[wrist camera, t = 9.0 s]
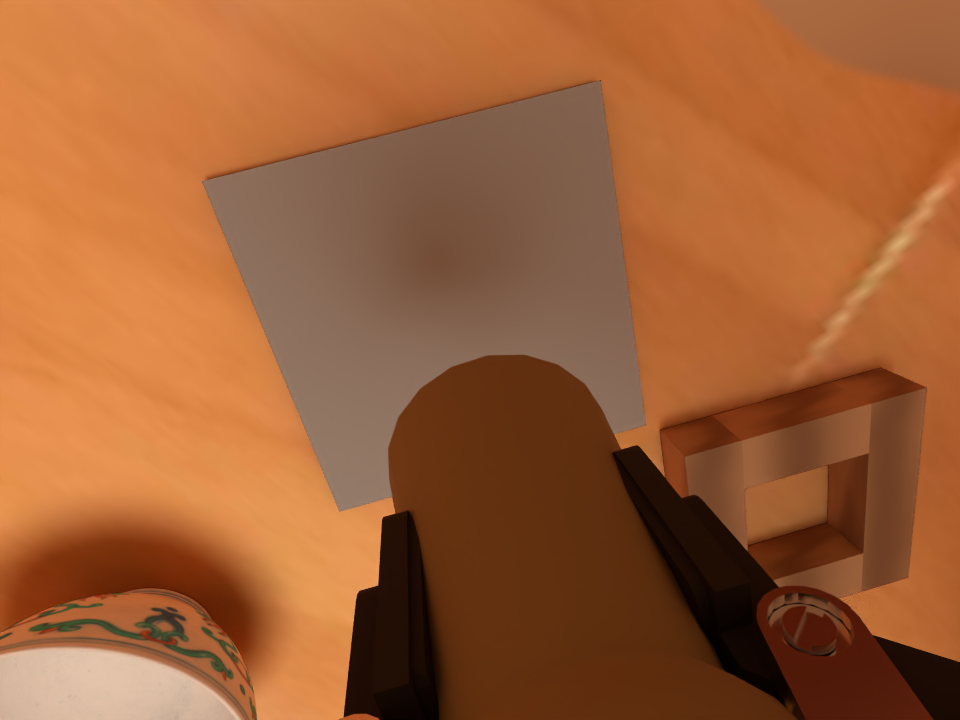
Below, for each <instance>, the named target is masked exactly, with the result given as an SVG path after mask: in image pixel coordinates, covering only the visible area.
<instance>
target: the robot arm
mask: <svg viewBox="0 0 960 720" xmlns="http://www.w3.org/2000/svg"><path fill="white" fill-rule="evenodd" d="M613 455H614V457H616V459H615V462H616V465H617V467H618V470H619V473H620V475H621V478H622V481H623V483H624V486H625V489H626V490H627V492H628V494H629V496H630V498H631V499H632V501H633V503H634V505H635V507H636V508H637V510H638V512H639V514H640V515H641V517H642V519H643V521H644V523H645V524H646V526H647V528H648V530H649V532H650V533H651V535H652V537H653V539H654V540H655V542H656V544H657V546H658V548H659V549H660V551H661V553H662V555H663V557H664V558H665V560H666V562H667V564H668V565H669V567H670V569H671V571H672V573H673V575H674V576H675V578H676V580H677V582H678V584H679V586H680V588H681V590H682V592H683V594H684V596H685V598H686V600H687V602H688V604H689V606H690V608H691V610H692V612H693V614H694V616H695V618H696V620H697V622H698V624H699V626H700V628H701V629H702V631H703V632H704V633H705V635H706V636H707V638H708V639H709V640H710V642H711V643H712V644H713V646H714V649H715V651H716V653H717V655H718V657H719V659H720V661H721V663H722V666H723V668H724V670H725V672H727V673H730V674H732V675H734V676H736V677H738V678H740V679H741V680H743V681H745V682H747V683H749V684H750V685H752V686H754V687H756V688H758V689H760V690H761V691H763V692H765V693H767V694H769V695H771V696H772V697H774V698H776V699H777V700H778V701H779V702H780V703H781V704H782V705H783V706H785V707H786V708H787V709H788V710H789V711H790V712H791V713H792V714H793V715H794V716H795V717H796V718H797V719H798V720H960V662H957V661H954V660H951V659H948V658H944V657H941V656H938V655H935V654H932V653H928V652H925V651H922V650H919V649H916V648H913V647H909V646H906V645H903V644H900V643H897V642H893V641H890V640H887V639H884V638H881V637H877V636H874V635H872V634H871V632H870V631H869V630H868V628H867V627H866V625H865V624H864V623H863V621H862V620H861V618H860V617H859V616H858V615H857V614H856V613H855V612H854V611H853V610H852V609H851V607H850V606H849V605H847V604H846V603H844V602H843V601H841V600H840V599H838V598H837V597H835V596H834V595H832V594H829V593H827V592H824V591H822V590H819V589H816V588H811V587H806V586H783V587H780V588H779V586H778V585H777V584H776V583H775V582H774V581H773V580H772V578H771V577H770V576H769V575H768V574H767V573H766V572H765V571H764V569H763V568H762V567H761V566H760V565H759V564H758V563H757V561H756V560H755V559H754V558H753V557H752V556H751V555H750V553H749V552H748V551H747V550H746V549H745V548H744V547H743V545H742V544H741V543H740V542H739V541H738V540H737V539H736V537H735V536H734V535H733V534H732V533H731V532H730V531H729V529H728V528H727V527H726V526H725V525H724V524H723V523H722V521H721V520H720V519H719V518H718V517H717V516H716V515H715V514H714V512H713V511H712V510H711V509H710V508H709V507H708V506H707V504H706V503H705V502H704V501H703V500H702V499H701V498H700V497H699V496H697V495H690V496H687V497H683V498H681V497H680V495H679V494H678V493H677V492H676V491H675V489H674V488H673V487H672V486H671V484H670V483H669V482H668V481H667V480H666V478H665V477H664V476H663V475H662V473H661V472H660V471H659V470H658V469H657V467H656V466H655V465H654V464H653V463H652V461H651V460H650V459H649V458H648V456H647V455H646V454H645V453H644V452H643V450H642V449H641V448H640V447H639V446H637V445H636V446H632V447H629V448H625V449H622V450H618V451H615V452H613ZM409 516H410V513H409V511H408V510H407V511H403V512H400V513H396V514H393V515H389V516H385V517H383V519H382V532H381V549H380V566H379V583H378V586H375V587H372V588H368V589H365V590H361V591H359V593H358V594H357V599H356V606H355V615H354V624H353V634H352V643H351V653H350V662H349V671H348V681H347V690H346V699H345V709H344V718H341V719H339V720H439V708H438V701H437V694H436V687H435V678H434V669H433V659H432V650H431V641H430V632H429V623H428V614H427V604H426V595H425V586H424V577H423V568H422V558H421V549H420V541H419V537H418V534H417V530H416V526H415V523H414V519H413V517H409Z"/></svg>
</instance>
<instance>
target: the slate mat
mask: <svg viewBox="0 0 960 720" xmlns="http://www.w3.org/2000/svg"><path fill="white" fill-rule="evenodd" d="M202 183H203V185H204V188H205V190H206V192H207V195H208V197H209V200H210V202H211V204H212V207H213V209H214V212H215V214H216V216H217V219H218V221H219V224H220V226H221V228H222V231H223V233H224V236H225V238H226V240H227V243H228V245H229V248H230V250H231V252H232V255H233V257H234V260H235V262H236V264H237V267H238V269H239V272H240V274H241V276H242V279H243V281H244V284H245V286H246V288H247V291H248V293H249V296H250V298H251V300H252V303H253V305H254V308H255V310H256V312H257V315H258V317H259V320H260V322H261V324H262V327H263V329H264V332H265V334H266V336H267V339H268V341H269V344H270V346H271V348H272V351H273V353H274V356H275V358H276V360H277V363H278V365H279V368H280V370H281V372H282V375H283V377H284V380H285V382H286V384H287V387H288V389H289V392H290V394H291V396H292V399H293V401H294V404H295V406H296V408H297V411H298V413H299V416H300V418H301V420H302V423H303V425H304V428H305V430H306V432H307V435H308V437H309V440H310V442H311V444H312V447H313V449H314V452H315V454H316V456H317V459H318V461H319V464H320V466H321V468H322V471H323V473H324V476H325V478H326V480H327V483H328V485H329V488H330V490H331V492H332V495H333V497H334V500H335V502H336V504H337V507H338V509H339V512H340V511H344V510H347V509H351V508H354V507H358V506H361V505H365V504H369V503H372V502H376V501H379V500H383V499H386V498H390V497H392V492H391V487H390V482H389V465H388V447H389V444H390V441H391V438H392V435H393V432H394V429H395V426H396V423H397V420H398V417H399V415H400V414H401V413H402V411H403V410H404V409H405V408H406V406H407V405H408V404H409V402H410V401H411V400H412V398H413V397H414V396H415V395H416V393H417V392H418V391H419V389H420V388H422V387H423V386H424V385H426V384H427V383H429V382H430V381H432V380H433V379H435V378H436V377H437V376H439V375H440V374H442V373H443V372H445V371H446V370H447V369H449V368H450V367H453V366H456V365H459V364H462V363H465V362H468V361H471V360H474V359H477V358H480V357H484V356H487V355H528V356H531V357H534V358H538V359H541V360H544V361H548V362H551V363H555V364H558V365H560V366H561V367H562V368H564V369H565V370H567V371H568V372H569V373H571V374H572V375H573V376H575V377H576V378H578V379H579V380H580V381H582V382H583V383H585V384H586V386H587V387H588V389H589V390H590V392H591V393H592V395H593V396H594V398H595V399H596V401H597V402H598V404H599V405H600V407H601V408H602V410H603V412H604V414H605V416H606V419H607V421H608V423H609V425H610V427H611V429H612V431H613V433H614V434H617V433H620V432H624V431H627V430H631V429H635V428H638V427H642V426H645V425H646V420H645V413H644V405H643V398H642V390H641V382H640V375H639V367H638V360H637V352H636V344H635V337H634V329H633V322H632V314H631V306H630V299H629V291H628V284H627V276H626V268H625V261H624V253H623V246H622V238H621V230H620V223H619V215H618V208H617V200H616V192H615V185H614V177H613V170H612V162H611V154H610V147H609V139H608V132H607V124H606V116H605V109H604V101H603V93H602V86H601V80H600V81H596V82H592V83H588V84H584V85H580V86H576V87H572V88H568V89H564V90H560V91H556V92H552V93H548V94H544V95H540V96H536V97H532V98H529V99H525V100H521V101H517V102H513V103H509V104H505V105H501V106H497V107H493V108H489V109H485V110H481V111H477V112H473V113H469V114H465V115H461V116H458V117H454V118H450V119H446V120H442V121H438V122H434V123H430V124H426V125H422V126H418V127H414V128H410V129H406V130H402V131H398V132H394V133H390V134H387V135H383V136H379V137H375V138H371V139H367V140H363V141H359V142H355V143H351V144H347V145H343V146H339V147H335V148H331V149H327V150H323V151H320V152H316V153H312V154H308V155H304V156H300V157H296V158H292V159H288V160H284V161H280V162H276V163H272V164H268V165H264V166H260V167H256V168H252V169H249V170H245V171H241V172H237V173H233V174H229V175H225V176H221V177H217V178H213V179H209V180H205V181H202Z"/></svg>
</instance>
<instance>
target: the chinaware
mask: <svg viewBox="0 0 960 720" xmlns="http://www.w3.org/2000/svg"><path fill="white" fill-rule="evenodd" d="M0 720H257V713H256V704H255V697H254V692H253V687H252V683H251V679H250V676H249V673H248V670H247V667H246V665H245V663H244V660H243V658H242V656H241V654H240V653H239V651H238V649H237V648H236V646H235V645H234V643H233V642H232V640H231V639H230V638H229V636H228V635H227V634H226V633H225V632H224V631H223V630H222V629H221V628H220V627H219V626H218V625H217V624H216V623H215V622H214V621H213V620H212V619H211V617H210V615H209V614H208V612H207V611H206V610H205V609H204V608H203V607H202V606H201V605H200V604H199V603H197V602H196V601H194V600H193V599H191V598H189V597H187V596H185V595H183V594H180V593H178V592H174V591H171V590H166V589H158V588H143V589H135V590H131V591H127V592H124V593H112V594H103V595H96V596H90V597H86V598H81V599H77V600H73V601H70V602H66V603H63V604H60V605H57V606H54V607H51V608H49V609H46V610H44V611H41V612H39V613H36V614H34V615H32V616H30V617H28V618H26V619H24V620H22V621H20V622H18V623H16V624H14V625H12V626H10V627H8V628H7V629H5V630H3V631H1V632H0Z"/></svg>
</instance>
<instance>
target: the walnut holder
mask: <svg viewBox="0 0 960 720" xmlns="http://www.w3.org/2000/svg"><path fill="white" fill-rule="evenodd" d="M926 392H927V388H926V387H924V386H922V385H919V384H917V383H915V382H913V381H910V380H908V379H906V378H903V377H901V376H899V375H896V374H894V373H892V372H890V371H887V370H885V369H883V368H879V369H875V370H872V371H868V372H865V373H861V374H857V375H854V376H850V377H847V378H843V379H840V380H836V381H833V382H829V383H826V384H822V385H819V386H815V387H811V388H808V389H804V390H801V391H797V392H794V393H790V394H787V395H783V396H780V397H776V398H773V399H769V400H765V401H762V402H758V403H755V404H751V405H748V406H744V407H741V408H737V409H734V410H730V411H727V412H723V413H719V414H716V415H712V416H709V417H705V418H702V419H698V420H695V421H691V422H688V423H684V424H681V425H677V426H674V427H670V428H666V429H663V430H660V436H661V444H662V453H663V461H664V469H665V478H666V480H667V481H668V482H669V483H670V484H671V486H672V487H673V488H674V489H675V491H676V492H677V493H678V494H679V495H680V497H681V498H683V497H687V496H690V495H697V496H699V497H700V498H701V499H702V500H703V501H704V502H705V503H706V504H707V506H708V507H709V508H710V509H711V510H712V511H713V512H714V514H715V515H716V516H717V517H718V518H719V519H720V520H721V521H722V523H723V524H724V525H725V526H726V527H727V528H728V529H729V531H730V532H731V533H732V534H733V535H734V536H735V537H736V539H737V540H738V541H739V542H740V543H741V544H742V545H743V547H744V548H745V549H746V550H747V551H748V552H749V553H750V555H751V556H752V557H753V558H754V559H755V560H756V561H757V563H758V564H759V565H760V566H761V567H762V568H763V569H764V571H765V572H766V573H767V574H768V575H769V576H770V577H771V578H772V580H773V581H774V582H775V583H776V584H777V585H778V586H779V588H780V587H783V586H806V587H811V588H816V589H819V590H822V591H824V592H827V593H829V594H832V595H834V596H835V597H837V598H838V599H839V598H842V597H846V596H849V595H852V594H856V593H859V592H862V591H866V590H869V589H872V588H876V587H879V586H882V585H886V584H889V583H892V582H895V581H899V580H902V579H905V578H908V574H909V564H910V554H911V544H912V534H913V524H914V514H915V504H916V493H917V483H918V473H919V463H920V453H921V443H922V433H923V423H924V413H925V403H926ZM826 465H829V475H828V522H827V523H825V524H821V525H818V526H815V527H811V528H808V529H804V530H801V531H798V532H794V533H791V534H787V535H784V536H781V537H777V538H774V539H770V540H767V541H764V542H760V543H757V544H753V545H750V546H747V528H746V509H745V489H747V488H750V487H754V486H757V485H760V484H764V483H767V482H771V481H774V480H778V479H781V478H785V477H788V476H792V475H795V474H798V473H802V472H805V471H809V470H812V469H816V468H819V467H823V466H826Z"/></svg>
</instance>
